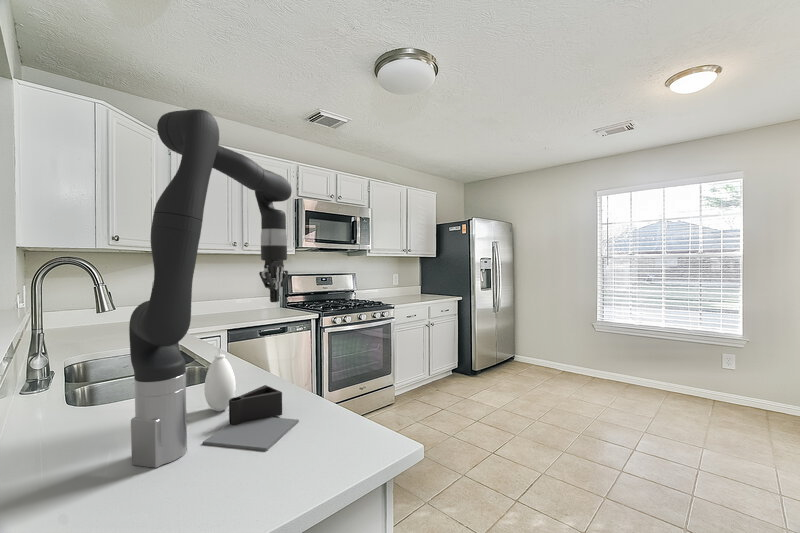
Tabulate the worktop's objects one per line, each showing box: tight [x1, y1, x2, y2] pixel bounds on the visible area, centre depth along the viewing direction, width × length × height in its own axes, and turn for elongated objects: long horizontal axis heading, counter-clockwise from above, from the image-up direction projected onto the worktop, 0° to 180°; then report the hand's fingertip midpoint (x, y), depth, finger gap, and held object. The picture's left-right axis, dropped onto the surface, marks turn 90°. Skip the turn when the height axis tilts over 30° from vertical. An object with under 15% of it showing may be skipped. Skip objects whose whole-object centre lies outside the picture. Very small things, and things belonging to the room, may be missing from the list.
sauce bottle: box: [203, 345, 237, 413], centre depth 105 cm, size 8×8×18 cm
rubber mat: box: [202, 416, 300, 452], centre depth 91 cm, size 15×16×1 cm
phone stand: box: [228, 384, 283, 425], centre depth 99 cm, size 9×6×12 cm
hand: (274, 301), depth 114 cm, fingers closed
